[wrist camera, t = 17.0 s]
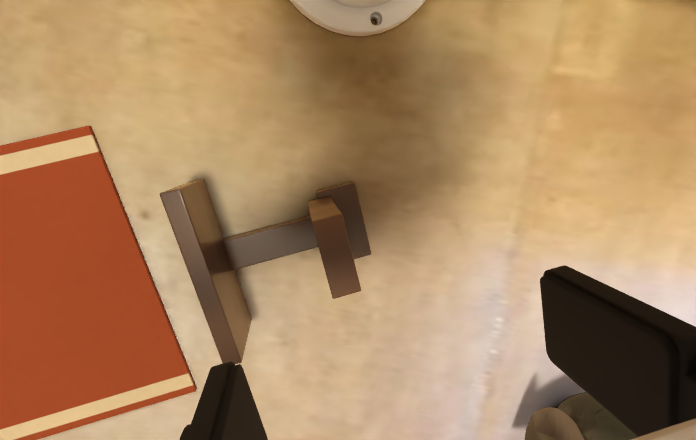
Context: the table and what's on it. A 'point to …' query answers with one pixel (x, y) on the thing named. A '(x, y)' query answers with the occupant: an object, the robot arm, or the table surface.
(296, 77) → the table surface
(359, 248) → the rod with end plates
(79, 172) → the towel
